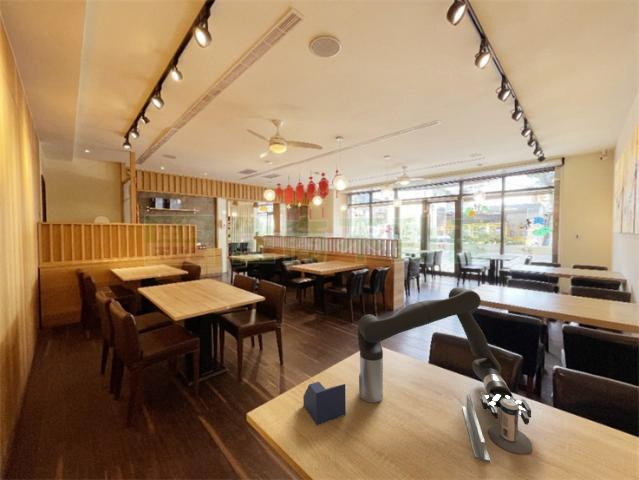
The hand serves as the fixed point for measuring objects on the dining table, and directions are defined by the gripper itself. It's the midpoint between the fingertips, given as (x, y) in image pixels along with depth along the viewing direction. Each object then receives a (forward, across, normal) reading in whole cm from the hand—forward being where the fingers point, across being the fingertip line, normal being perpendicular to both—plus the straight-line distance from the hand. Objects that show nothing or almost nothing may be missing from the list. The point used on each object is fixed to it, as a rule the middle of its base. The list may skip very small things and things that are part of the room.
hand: (511, 419), depth 88 cm
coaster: (-2, 0, +8) cm, 9 cm away
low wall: (-2, -10, +8) cm, 13 cm away
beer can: (-2, 0, +8) cm, 8 cm away
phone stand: (+3, -62, +9) cm, 63 cm away
